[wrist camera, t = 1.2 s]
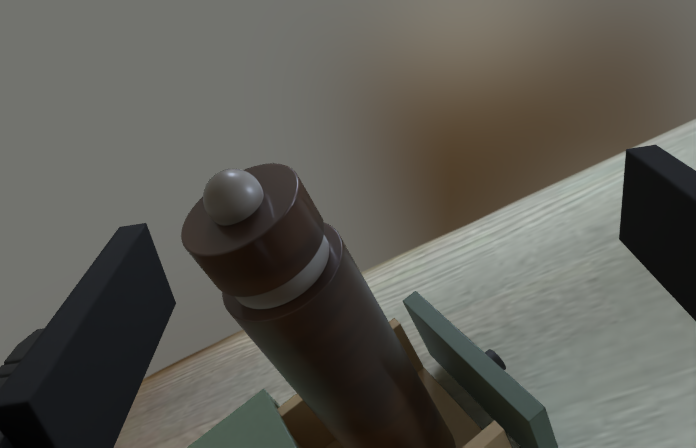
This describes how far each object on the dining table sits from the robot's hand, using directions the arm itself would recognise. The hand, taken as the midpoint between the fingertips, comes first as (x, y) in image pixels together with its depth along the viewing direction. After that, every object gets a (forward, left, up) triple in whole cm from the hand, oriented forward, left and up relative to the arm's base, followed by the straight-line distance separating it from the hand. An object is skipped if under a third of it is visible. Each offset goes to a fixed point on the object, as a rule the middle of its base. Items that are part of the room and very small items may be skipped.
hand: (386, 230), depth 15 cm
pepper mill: (+3, -9, -24) cm, 26 cm away
